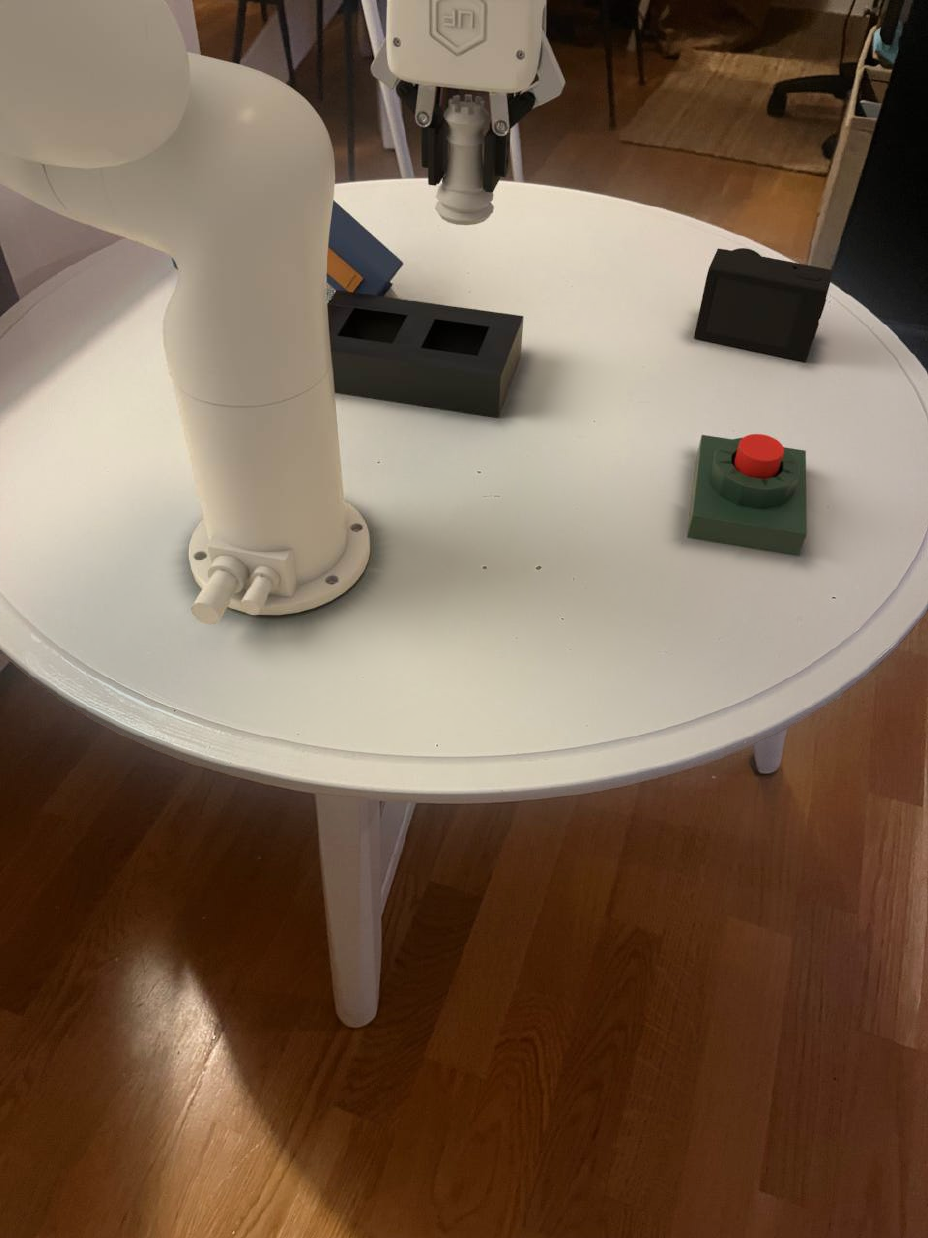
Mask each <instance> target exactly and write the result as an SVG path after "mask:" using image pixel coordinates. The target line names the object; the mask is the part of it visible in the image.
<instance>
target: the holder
mask: <svg viewBox="0 0 928 1238" xmlns="http://www.w3.org/2000/svg"><path fill="white" fill-rule="evenodd" d="M334 291H335V292H334V293H333V295H332V296H331V298H330V299H329V301H327V308H328V324H329V337H330V348H331V357H332V367H333V378H334V390H335V394H341V395H342V394H343V395H348V396H349V395H350V396H355V397H362V398H366V399H375V400H380V401H386V402H387V401H388V402H393V403H400V404H406V405H411V406H412V405H413V406H418V407H424V408H425V407H426V408H431V409H432V408H433V409H439V410H446V411H450V412H451V411H452V412H457V413H458V412H459V413H464V414H471V415H477V416H483V417H490V418H496V419H499V417H500V414H501V412H502V409H503V408H504V407H503V406H504V405H505V404H504V403H505V401H506V399H507V395H508V393H509V390H510V387H511V384H512V381H513V379H514V377H515V373H516V371H517V367H518V365H519V363H520V359H521V358H522V343H523V330H524V329H523V328H524V315H519V314H511V313H504V312H497V311H490V310H482V309H475V308H467V307H460V306H454V305H448V304H440V303H433V302H425V301H419V300H410V299H403V298H400V299H397V298H390V297H383V296H375V295H368V294H361V293H354V292H347V291H339V290H334Z"/></svg>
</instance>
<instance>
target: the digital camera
mask: <svg viewBox="0 0 928 1238" xmlns="http://www.w3.org/2000/svg"><path fill="white" fill-rule="evenodd" d="M833 273H834V270H833V269H829V268H825V267H818V266H813V265H809V264H804V263H799V262H793V261H787V260H783V259H777V258H772V257H767V256H762V255H760V253H758V252H757V251H756V250H753V249H751V248H748V247H746V248H745V247H739V248H735V249H732V250H731V249H724V248H717V249H716V251H715V254H714V256H713V258H712V261H711V262H710V265H709V266H708V270H707V273H706V277H705V282H704V287H703V291H702V295H701V296H702V297H701V300H700V307H699V311H698V316H697V321H696V326H695V330H694V334H693V335H694V336H693V339H697V340H701V341H706V342H710V343H715V344H718V345H719V344H720V345H724V346H729V347H735V348H737V349H744V350H748V351H752V352H757V353H763V354H767V355H771V356H777V357H781V358H785V359H790V360H795V361H800V362H807V359H808V356H809V354H810V350H811V347H812V344H813V342H814V341H815V338H816V334H817V330H818V327H819V325H820V322H819V321H820V320H821V318H822V315H823V311H824V308H825V305H826V302H827V296H828V294H829V293H828V292H829V288H830V285H831V281H832V277H833Z"/></svg>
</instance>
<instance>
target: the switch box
mask: <svg viewBox="0 0 928 1238" xmlns="http://www.w3.org/2000/svg"><path fill="white" fill-rule="evenodd" d="M744 437H745V436H743V437H737V438H726V437H721V436H720V437H719V436H713V435H705V434H701V436H700V440H699V444H698V448H697V452H696V456H695V457H696V458H695V464H694V465H695V466H694V475H693V476H694V477H693V482H692V493H691V501H690V509H689V518H688V526H687V535H686V537H687V538H689V539H693V540H701V541H705V542H712V543H717V544H725V545H730V546H735V547H742V548H748V549H753V550H759V551H760V550H761V551H765V552H772V553H778V554H784V555H789V556H796V557H799V556H800V553H801V551H802V547H803V546H804V543H805V540H806V537H807V534H808V531H807V526H808V525H807V451H806V450H804V449H798V448H791V447H785V446H783V448H784V454H783V458H782V461H781V464H780V467H779V470H778V473H777V474H776V475H775V476H774V477H772V478H767V479H760V478H753V477H749V476H747V475H745V474H743V473H741V472H739V471H738V470H737V469H736V468H735V465H734V461H735V457H736V453H737V450H738V446H739V443H740V441H741V439H742V438H744Z"/></svg>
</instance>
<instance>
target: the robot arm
mask: <svg viewBox="0 0 928 1238" xmlns="http://www.w3.org/2000/svg"><path fill="white" fill-rule="evenodd" d="M385 26H386V27H385V28H386V29H385V30H386V31H385V33H386V35H385V38H384V39H383V41H382V42H381V45H380V47H379V49H378V51H377V52H376V55H375V57H374V59H373V61H372V63H371V65H370V73H371V75H372V76H373V77H374V78H376V79H377V80H378V81H380V83H382V84H383V85H385V87H387V88H389V89H390V90H393V91H394V92H395V93H396V95H397V97H398V98H399V99H400V100H401V102H403V104H404V105H405V106H406V107H407V108H408V110H409V111H410V112H411V113H412V114H413V115H414V120H415V123H416V124H417V125H418V126H419V127H420V143H421V145H420V148H421V149H420V150H421V167H422V168H424V169H427V184H428V186H433V187H435V186H437V185H440V184H441V182H442V179H443V177H444V176H445V175H446V171H447V164H448V156H449V141H448V140H447V139H446V137H447V135H448V133H449V124H448V123H447V121H446V120H445V118H444V116H443V115H444V109H443V107H442V105H443V104H442V102H443V96H444V88H450V89H460V90H468V91H479V92H487V93H488V95H489V105H490V106H489V107H490V117H491V121H490V123H489V129H488V130H487V132H486V134H484V136H485V140H484V142H483V165H484V168H483V190H485V192H491V193H493V194H494V192H495V189H496V187H497V185H498V183H499V181H500V180H501V178H506V177H507V176H508V173H509V167H510V153H511V152H510V151H511V131H512V129H513V128H514V127H515V126H516V125H517V124H518V123H519V122H520V121H522V119H523V118H525V116H527V115H528V114H529V113H530V112H531V111H532V110H534V109H536V108H537V107H539V106H542V105H544V104H546V103H548V102H550V101H552V100H554V99H556V98H558V97H559V96H561V94H562V93H563V91H564V89H565V86H566V80H565V77H564V75H563V73H562V70H561V67H560V65H559V63H558V60H557V58H556V56H555V54H554V52H553V48H552V46H551V44H550V42H549V39H548V37H547V0H386V25H385ZM536 75H537V77H538V80H537V81H535V82H534V80H535V79H536ZM533 82H534V83H533ZM328 131H329V130H328V129H327V127H326V125H325V122H324V121H323V120H322V117H321V116H320V114H319V113H318V112H317V111H316V109H315V108H314V107H313V105H312V104H311V103H310V102H309V101H308V100H307V99H306V98H305V97H304V96H303V95H301V93H299V92H298V91H297V90H296V89H294V88H293V87H291V86H290V85H288V84H286V83H285V82H283V81H281V80H280V79H278V78H276V77H274V76H272V75H270V74H267V73H266V72H264V71H261V70H258V69H256V68H252V67H249V66H245V65H244V64H239V63H236V62H231V61H227V60H223V59H218V58H214V57H210V56H206V55H202V54H199V53H194V52H190V51H187V46H186V43H185V39H184V37H183V34H182V31H181V29H180V26H179V24H178V22H177V20H176V18H175V16H174V14H173V12H172V10H171V8H170V6H169V4H168V3H167V2H166V0H0V185H2V186H4V187H6V188H8V189H10V190H11V191H13V192H15V193H17V194H19V195H20V196H23V197H24V198H25V199H28V200H30V201H32V202H34V203H35V204H38V205H39V206H41V207H44V208H46V209H47V210H50V211H52V212H54V213H56V214H57V215H60V216H63V217H65V218H67V219H70V220H73V221H76V222H78V223H81V224H84V225H86V226H89V227H93V228H95V229H98V230H101V231H104V232H107V233H111V234H113V235H116V236H120V237H123V238H125V239H129V240H131V241H135V242H137V243H140V244H142V245H145V246H147V247H149V248H152V249H155V250H157V251H160V252H163V253H165V254H167V255H168V256H169V257H170V258H171V257H172V258H173V260H174V261H175V263H176V265H177V268H178V270H177V276H178V277H177V281H176V286H175V288H174V290H173V293H172V295H171V297H170V299H169V302H168V303H167V305H166V308H165V311H164V315H163V319H162V343H163V350H164V354H165V355H164V356H165V359H166V363H167V369H168V372H169V377H170V379H171V381H172V387H173V390H174V394H175V400H176V404H177V408H178V412H179V417H180V421H181V425H182V429H183V434H184V439H185V444H186V447H187V451H188V456H189V460H190V461H189V462H190V466H191V469H192V474H193V478H194V482H195V487H196V491H197V497H198V501H199V504H200V508H201V512H202V516H203V518H202V520H200V522H198V525H197V526H196V528H195V529H194V531H193V533H192V536H191V538H190V541H189V545H188V559H189V565H190V569H191V573H192V574H193V575H192V576H193V577H194V580H195V582H196V583H197V585H198V586H199V588H200V589H201V591H200V592H199V594H198V595H197V597H196V599H195V601H194V602H193V604H192V606H191V608H190V609H191V613H192V615H193V616H194V617H195V618H196V620H198V621H200V622H201V623H204V624H207V625H216V624H217V623H219V622H221V619H222V617H223V615H224V614H225V612H226V610H227V608H229V609H232V610H235V611H238V612H241V613H245V614H247V615H250V616H283V615H291V614H297V613H301V612H304V611H309V610H313V609H316V608H318V607H320V606H324V605H326V604H327V603H330V602H332V601H333V600H335V599H337V598H338V597H340V596H341V595H343V594H344V593H346V592H347V591H348V590H349V589H350V588H352V587H353V585H355V584H356V583H357V582H358V580H359V579H360V577H361V576H362V575H363V573H364V572H365V570H366V567H367V565H368V562H369V561H370V560H369V559H370V555H371V554H370V553H371V540H370V539H371V536H370V532H369V527H368V525H367V524H368V523H367V522H366V521H365V519H364V517H363V516H362V514H361V513H360V511H358V509H356V508H355V506H353V505H352V504H351V503H349V502H348V501H346V500H345V494H344V483H343V474H342V473H343V471H342V462H341V461H342V460H341V450H340V439H339V438H340V437H339V429H338V428H339V427H338V414H337V403H336V393H335V390H334V378H333V367H332V357H331V348H330V337H329V324H328V308H327V304H328V283H327V253H328V242H329V231H330V223H331V215H332V207H333V200H334V197H335V186H336V185H335V183H336V165H335V164H336V162H335V161H336V160H335V154H334V149H333V144H332V140H331V137H330V134H329V132H328ZM172 258H171V259H172Z"/></svg>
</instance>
